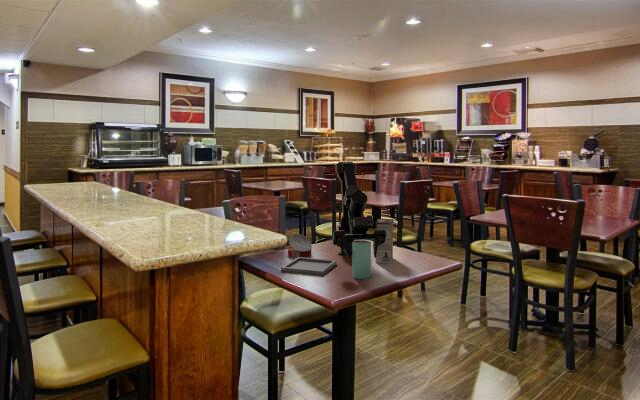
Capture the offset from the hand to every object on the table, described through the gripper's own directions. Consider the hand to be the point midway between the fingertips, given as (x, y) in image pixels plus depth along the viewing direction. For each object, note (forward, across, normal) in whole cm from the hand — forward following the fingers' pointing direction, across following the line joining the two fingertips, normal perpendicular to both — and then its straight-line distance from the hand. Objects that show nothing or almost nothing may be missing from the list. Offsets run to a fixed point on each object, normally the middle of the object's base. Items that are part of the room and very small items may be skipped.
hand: (362, 257), depth 159 cm
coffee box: (-10, +13, +20) cm, 26 cm away
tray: (-5, -17, +15) cm, 23 cm away
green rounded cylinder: (+4, 0, +6) cm, 7 cm away
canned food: (-19, -20, +29) cm, 40 cm away
